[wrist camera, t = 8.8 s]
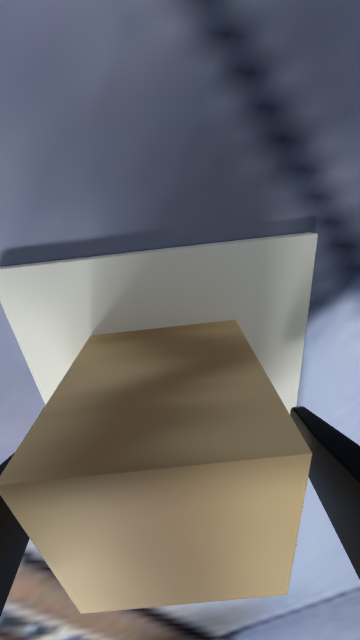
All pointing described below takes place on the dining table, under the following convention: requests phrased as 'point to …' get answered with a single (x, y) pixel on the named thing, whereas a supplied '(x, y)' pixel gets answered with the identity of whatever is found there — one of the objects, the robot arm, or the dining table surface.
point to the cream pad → (166, 301)
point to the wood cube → (163, 472)
